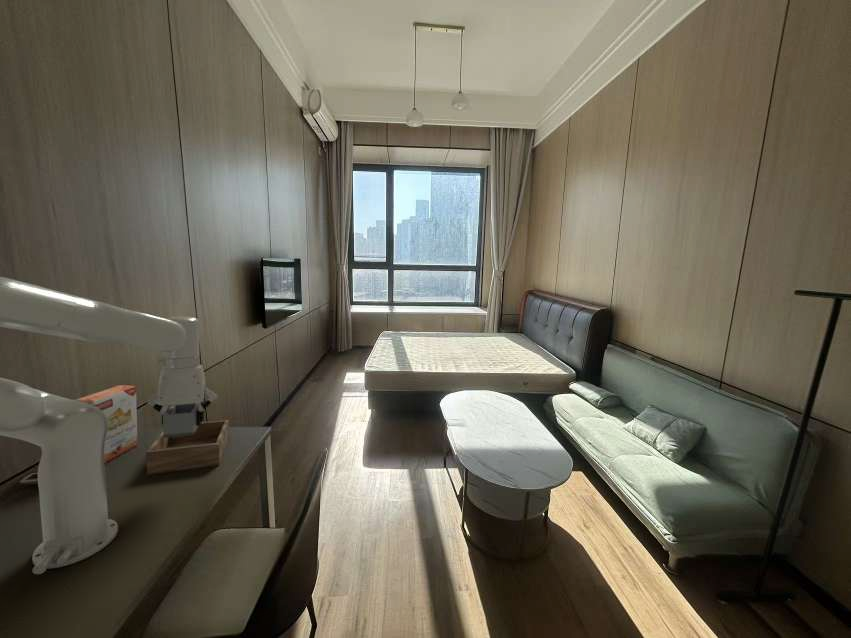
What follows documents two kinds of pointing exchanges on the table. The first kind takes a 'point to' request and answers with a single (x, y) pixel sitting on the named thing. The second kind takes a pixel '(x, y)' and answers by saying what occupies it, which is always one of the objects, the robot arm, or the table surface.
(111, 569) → the table surface
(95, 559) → the table surface
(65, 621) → the table surface
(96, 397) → the cracker box
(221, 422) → the big crate
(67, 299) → the robot arm
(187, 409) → the small crate
